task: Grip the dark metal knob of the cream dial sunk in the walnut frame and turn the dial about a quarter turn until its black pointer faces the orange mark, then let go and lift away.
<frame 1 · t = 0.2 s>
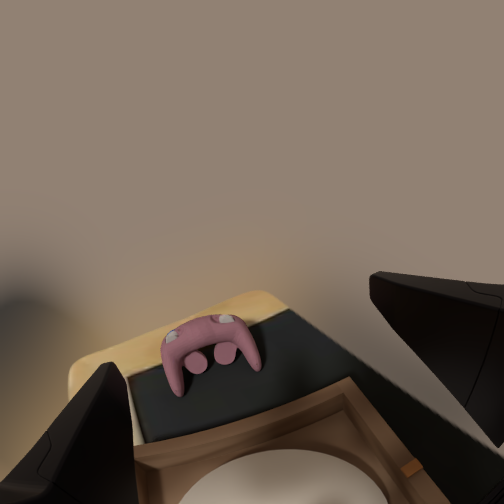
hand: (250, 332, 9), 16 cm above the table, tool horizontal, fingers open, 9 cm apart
video game controller: (215, 371, 30), on the table
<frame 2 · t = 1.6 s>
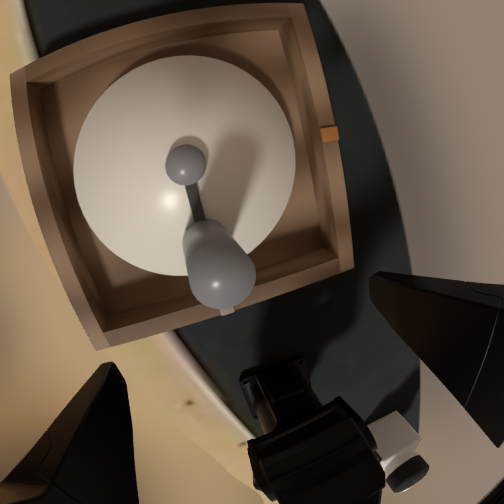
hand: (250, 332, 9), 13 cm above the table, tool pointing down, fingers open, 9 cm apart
dial: (187, 165, 15), point 5 cm above the table, hinge at 0.0°
medicine bottle: (373, 430, 37), on the table
dial frame: (183, 164, 19), on the table
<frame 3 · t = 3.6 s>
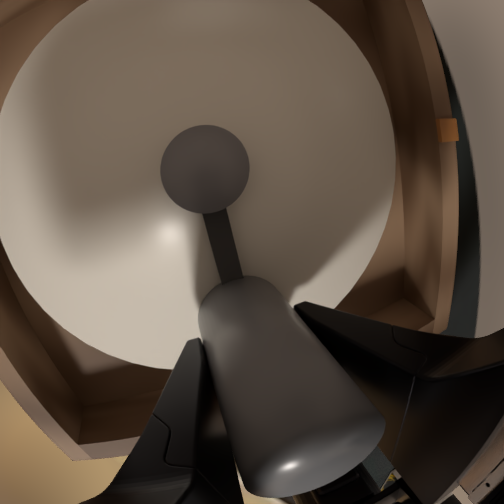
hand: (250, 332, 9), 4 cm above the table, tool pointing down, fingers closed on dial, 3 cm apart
dial: (216, 172, 6), point 5 cm above the table, hinge at 0.0°, touching gripper
medicine bottle: (403, 469, 29), on the table
dial frame: (195, 165, 10), on the table
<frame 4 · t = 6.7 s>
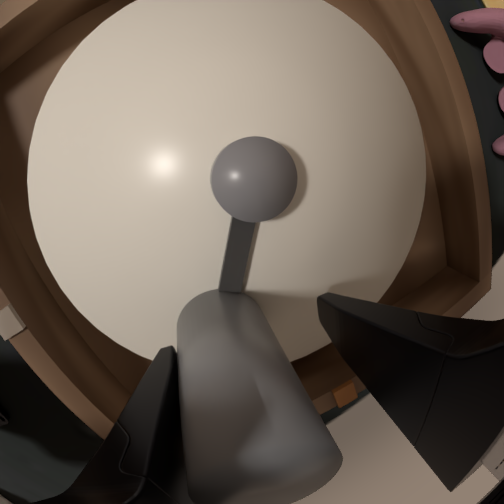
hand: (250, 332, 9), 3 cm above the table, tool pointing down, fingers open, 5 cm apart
dial: (276, 185, 6), point 5 cm above the table, hinge at 54.1°, touching gripper
video game controller: (486, 80, 12), on the table
dial frame: (236, 173, 11), on the table
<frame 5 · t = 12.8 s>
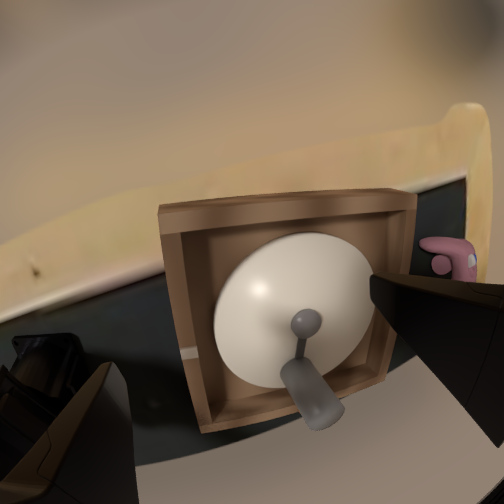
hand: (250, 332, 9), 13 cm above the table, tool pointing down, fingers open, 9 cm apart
dial: (318, 338, 21), point 5 cm above the table, hinge at 83.9°
video game controller: (427, 273, 30), on the table
dial frame: (292, 307, 25), on the table
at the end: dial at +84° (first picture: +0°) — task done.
